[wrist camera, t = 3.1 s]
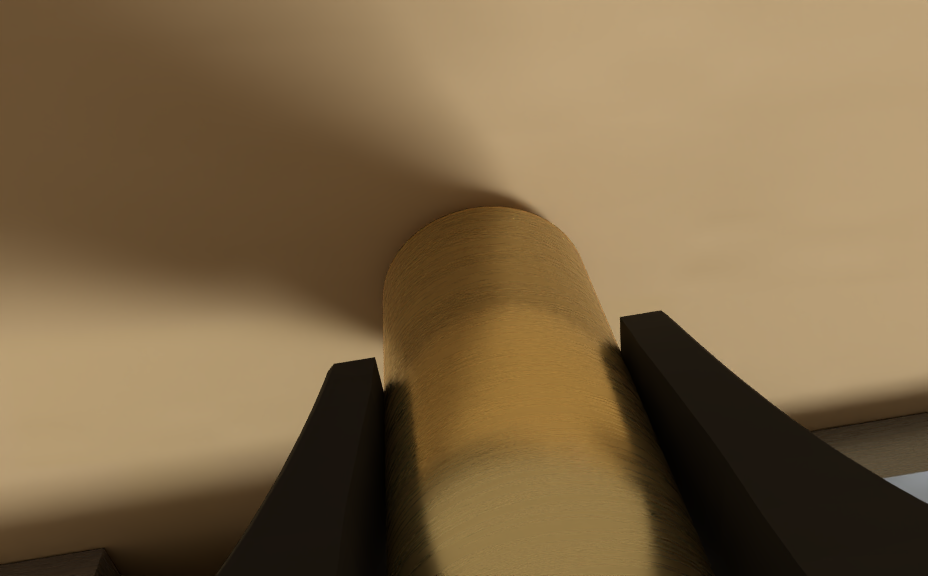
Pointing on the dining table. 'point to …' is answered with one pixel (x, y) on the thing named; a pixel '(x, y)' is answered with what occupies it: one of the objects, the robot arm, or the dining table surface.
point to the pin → (517, 415)
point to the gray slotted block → (869, 444)
